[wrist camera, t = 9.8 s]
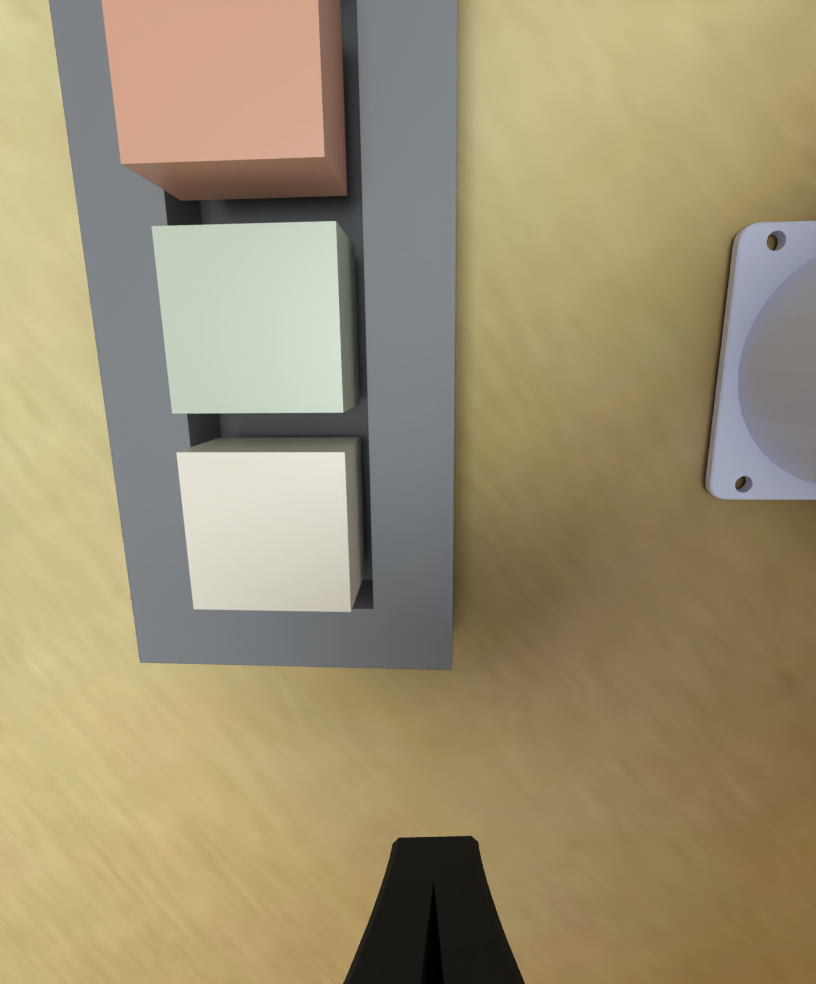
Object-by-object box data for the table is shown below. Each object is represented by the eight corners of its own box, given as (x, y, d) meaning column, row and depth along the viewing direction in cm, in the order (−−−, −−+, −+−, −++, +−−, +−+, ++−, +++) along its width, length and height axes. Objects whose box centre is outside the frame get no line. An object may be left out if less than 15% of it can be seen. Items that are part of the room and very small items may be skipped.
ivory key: (360, 437, 17) (344, 451, 14) (364, 573, 18) (351, 612, 15) (218, 437, 17) (176, 452, 14) (231, 571, 18) (193, 609, 15)
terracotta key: (340, -6, 13) (313, -101, 10) (347, 195, 14) (324, 157, 12) (162, 3, 13) (91, -88, 11) (181, 200, 14) (121, 163, 12)
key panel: (458, -341, 13) (462, -495, 11) (451, 631, 20) (452, 670, 17) (66, -306, 14) (-13, -443, 12) (176, 626, 20) (140, 662, 18)
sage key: (354, 245, 15) (335, 221, 13) (359, 403, 16) (343, 412, 14) (202, 249, 16) (151, 226, 13) (216, 404, 17) (172, 413, 14)
